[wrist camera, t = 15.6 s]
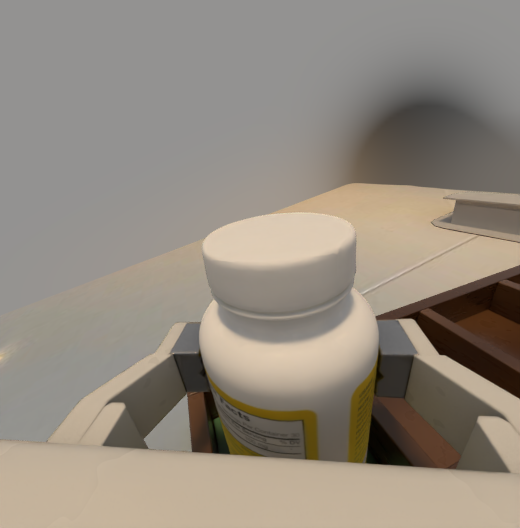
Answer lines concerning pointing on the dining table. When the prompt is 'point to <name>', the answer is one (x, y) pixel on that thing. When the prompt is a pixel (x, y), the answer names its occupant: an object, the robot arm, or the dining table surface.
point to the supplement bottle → (289, 338)
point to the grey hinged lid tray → (484, 215)
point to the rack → (446, 343)
